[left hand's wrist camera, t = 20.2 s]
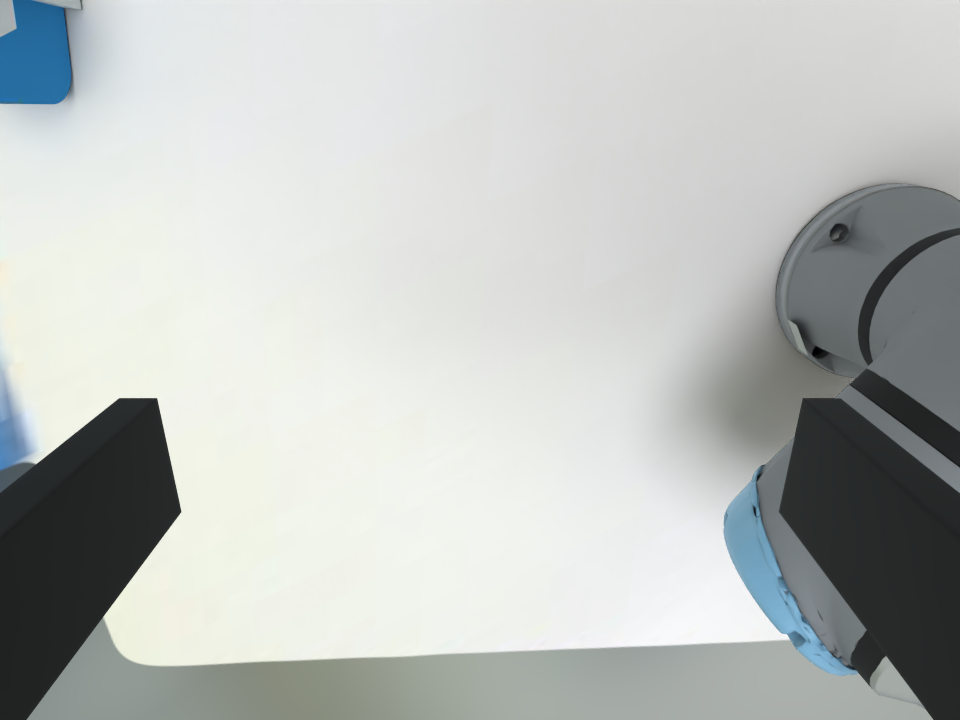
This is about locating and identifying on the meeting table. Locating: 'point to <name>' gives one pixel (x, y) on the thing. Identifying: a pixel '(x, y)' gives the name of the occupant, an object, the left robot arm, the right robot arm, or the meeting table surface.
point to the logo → (34, 51)
